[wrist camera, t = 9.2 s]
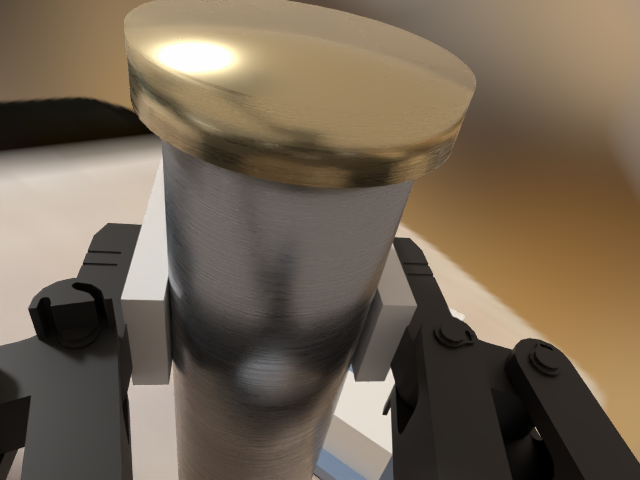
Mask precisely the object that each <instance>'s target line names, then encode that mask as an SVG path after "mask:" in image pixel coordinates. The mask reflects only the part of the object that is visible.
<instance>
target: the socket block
mask: <svg viewBox="0 0 640 480" xmlns="http://www.w3.org/2000/svg"><path fill="white" fill-rule="evenodd" d="M448 308H449V307H448ZM449 310H450V312H451V314H452V316H453V317H456V318H458V319H460V320H461V321H463V319H464V317H465V315H463V314H461V313H459V312H457V311H455V310H453V309H451V308H449ZM394 384H395V380H394V377H393V373H392V370H391V368H390V370H389V372H388V374H387V377H386V379H385V381H372V382H355V379H354V374H353V369H352V365H351V366H350V368H349V371H348V374H347V377H346V380H345V383H344V386H343V389H342V392H341V395H340V398H339V400H338V403H337V406H336V409H335V412H334V415H333V418H332V421H331V424H330V427H329V430H328V432H327V435H326V438H325V441H324V444H323V447H322V450H321V453H320V456H319V459H318V462H317V464H316V467H315V470H314V474H315V475H317V476H318V477H320V478H321V479H322V480H393V456H392V429H391V408H390V410H389V412H388V414H387V416H386V415H382V414H383V409H384V405H385V403H386V401H387V399H388V397H389V395H390V392H391V390H392V388H393V386H394Z"/></svg>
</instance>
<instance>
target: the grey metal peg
mask: <svg viewBox="0 0 640 480" xmlns="http://www.w3.org/2000/svg"><path fill="white" fill-rule="evenodd" d="M124 30H125V41H126V52H127V64H128V75H129V86H130V97H131V102H132V105H133V109H134V110H135V112H136V114H137V115H138V117H139V119H140V120H141V121H142V122H143V123H144V124H145V125H146V126H147V127H148V128H149V129H150V130H151V131H152V132H154V133H155V134H156V135H158V136H159V137H160V138H161V139H162V155H163V175H164V195H165V215H166V235H167V255H168V275H169V295H170V315H171V335H172V355H173V375H174V396H175V416H176V436H177V456H178V476H179V480H311V479H312V476H313V473H314V470H315V467H316V464H317V462H318V459H319V456H320V453H321V450H322V447H323V444H324V441H325V438H326V435H327V432H328V430H329V427H330V424H331V421H332V418H333V415H334V412H335V409H336V406H337V403H338V400H339V398H340V395H341V392H342V389H343V386H344V383H345V380H346V377H347V374H348V371H349V368H350V366H351V363H352V360H353V357H354V354H355V351H356V348H357V345H358V342H359V339H360V336H361V333H362V331H363V328H364V325H365V322H366V319H367V316H368V313H369V310H370V307H371V304H372V301H373V299H374V296H375V293H376V290H377V287H378V284H379V281H380V278H381V275H382V272H383V269H384V267H385V264H386V261H387V258H388V255H389V252H390V249H391V246H392V243H393V240H394V237H395V235H396V232H397V229H398V226H399V223H400V220H401V217H402V214H403V211H404V208H405V205H406V203H407V199H408V197H409V193H410V191H411V188H412V185H413V182H414V179H416V178H419V177H422V176H424V175H426V174H428V173H430V172H432V171H434V170H435V169H436V168H438V167H439V166H441V165H442V164H443V163H444V162H445V160H446V159H447V158H448V157H449V156H450V153H451V150H452V148H453V145H454V143H455V140H456V137H457V135H458V132H459V129H460V127H461V124H462V121H463V119H464V117H465V114H466V111H467V109H468V106H469V104H470V101H471V98H472V96H473V93H474V90H475V88H476V78H475V77H474V74H473V73H472V71H471V70H470V69H469V68H468V66H467V65H466V64H465V63H463V62H462V61H461V60H460V59H459V58H457V57H456V56H454V55H453V54H452V53H450V52H449V51H447V50H445V49H443V48H442V47H440V46H438V45H436V44H434V43H432V42H430V41H428V40H426V39H424V38H422V37H419V36H417V35H415V34H412V33H410V32H407V31H405V30H402V29H400V28H397V27H394V26H391V25H388V24H385V23H382V22H379V21H376V20H372V19H369V18H366V17H362V16H358V15H355V14H351V13H347V12H343V11H338V10H335V9H330V8H324V7H320V6H315V5H310V4H304V3H299V2H293V1H286V0H154V1H151V2H147V3H145V4H143V5H140V6H138V7H136V8H135V9H133V10H132V11H130V12H129V13H128V15H127V16H126V18H125V22H124Z"/></svg>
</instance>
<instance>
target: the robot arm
mask: <svg viewBox="0 0 640 480" xmlns="http://www.w3.org/2000/svg"><path fill="white" fill-rule="evenodd" d="M28 310H29V313H30V316H31V319H32V322H33V325H34V328H35V331H36V334H37V335H36V336H33V337H31V338H29V339H25V340H22V341H19V342H15V343H11V344H6V345H2V346H0V480H6V478H7V475H8V473H9V470H10V468H11V465H12V463H13V461H14V458H15V456H16V453H17V451H18V449H19V448H22V447H25V450H24V458H23V466H22V474H21V480H133V474H132V454H131V433H130V413H129V400H128V394H127V391H128V387H129V382H130V378H131V374H132V381H133V385H162V384H169V380H170V373H171V366H172V359H173V355H172V335H171V315H170V295H169V275H168V255H167V235H166V215H165V195H164V175H163V155H162V157H161V160H160V164H159V167H158V171H157V174H156V178H155V181H154V185H153V188H152V192H151V195H150V199H149V202H148V206H147V209H146V213H145V216H144V220H143V223H142V225H135V224H117V223H108V224H107V225H105V226H104V227H103V228H102V229H101V230H100V231H99V232H97V233H96V234H95V235H94V237H93V239H92V242H91V244H90V246H89V249H88V253H87V254H86V256H85V259H84V261H83V266H81V268H80V271H79V273H78V276H77V278H71V279H66V280H62V281H58V282H56V283H53V284H51V285H49V286H47V287H45V288H43V289H42V290H41V291H40V292H39V293H38V294H37V295H36V296H35V297H34V298H33V299H32V301H31V304H30V306H29V308H28ZM351 365H352V369H353V374H354V379H355V382H372V381H385V379H386V377H387V374H388V372H389V370H390V368H391V370H392V373H393V377H394V380H395V384H394V386H393V388H392V390H391V392H390V395H389V397H388V399H387V401H386V403H385V405H384V409H383V414H382V415H386V416H387V414H388V412H389V410H390V408H391V429H392V456H393V480H640V463H639V462H638V461H637V459H636V458H635V456H634V455H633V453H632V452H631V450H630V449H629V447H628V446H627V444H626V443H625V441H624V440H623V439H622V437H621V436H620V434H619V432H618V431H617V430H616V428H615V427H614V425H613V424H612V422H611V421H610V419H609V418H608V416H607V415H606V413H605V412H604V410H603V409H602V407H601V406H600V405H599V403H598V402H597V400H596V399H595V397H594V396H593V394H592V393H591V391H590V390H589V388H588V387H587V385H586V384H585V382H584V381H583V379H582V378H581V377H580V375H579V374H578V372H577V371H576V369H575V368H574V366H573V365H572V363H571V362H570V361H569V359H568V358H567V357H566V356H565V355H564V354H563V353H562V352H561V351H560V350H558V349H557V348H555V347H554V346H553V345H551V344H549V343H546V342H544V341H542V340H538V339H532V338H528V339H524V340H521V341H520V342H519V343H517V344H516V346H515V347H514V349H513V350H511V349H508V348H504V347H501V346H497V345H494V344H490V343H487V342H484V341H481V340H479V339H478V338H477V336H476V334H475V332H474V331H473V330H472V329H471V328H470V327H469V326H468V325H467V324H466V323H464V322H463V321H461V320H460V319H458V318H456V317H453V316H452V314H451V312H450V310H449V308H448V305H447V303H446V301H445V299H444V297H443V295H442V292H441V290H440V288H439V286H438V284H437V282H436V279H435V277H433V273H432V271H431V269H430V267H429V266H428V262H427V260H426V258H425V256H424V254H423V251H422V250H421V249H420V248H419V247H418V246H417V245H416V244H415V243H414V242H413V241H412V240H411V239H410V238H397V237H394V240H393V243H392V246H391V249H390V252H389V255H388V258H387V261H386V264H385V267H384V269H383V272H382V275H381V278H380V281H379V284H378V287H377V290H376V293H375V296H374V299H373V301H372V304H371V307H370V310H369V313H368V316H367V319H366V322H365V325H364V328H363V331H362V333H361V336H360V339H359V342H358V345H357V348H356V351H355V354H354V357H353V360H352V363H351ZM535 427H536V428H537V430H538V432H539V434H540V435H539V434H538V432H537V431H536V429H535ZM540 436H541V437H540Z"/></svg>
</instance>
